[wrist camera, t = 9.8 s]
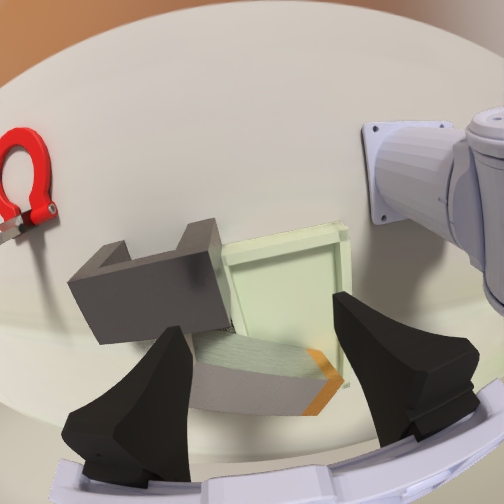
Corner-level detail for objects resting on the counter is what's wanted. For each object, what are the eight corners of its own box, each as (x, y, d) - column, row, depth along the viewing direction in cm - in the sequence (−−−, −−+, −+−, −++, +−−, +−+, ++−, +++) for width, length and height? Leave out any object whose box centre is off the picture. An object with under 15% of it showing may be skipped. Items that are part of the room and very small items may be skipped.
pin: (189, 321, 20) (196, 361, 16) (321, 350, 25) (344, 380, 21) (171, 364, 21) (175, 405, 17) (298, 384, 26) (317, 415, 22)
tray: (339, 220, 21) (348, 229, 19) (344, 374, 28) (349, 387, 26) (215, 246, 21) (213, 257, 19) (258, 394, 28) (260, 408, 26)
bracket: (214, 217, 20) (207, 250, 14) (230, 278, 22) (230, 326, 16) (103, 245, 20) (66, 282, 14) (125, 298, 22) (99, 344, 16)
